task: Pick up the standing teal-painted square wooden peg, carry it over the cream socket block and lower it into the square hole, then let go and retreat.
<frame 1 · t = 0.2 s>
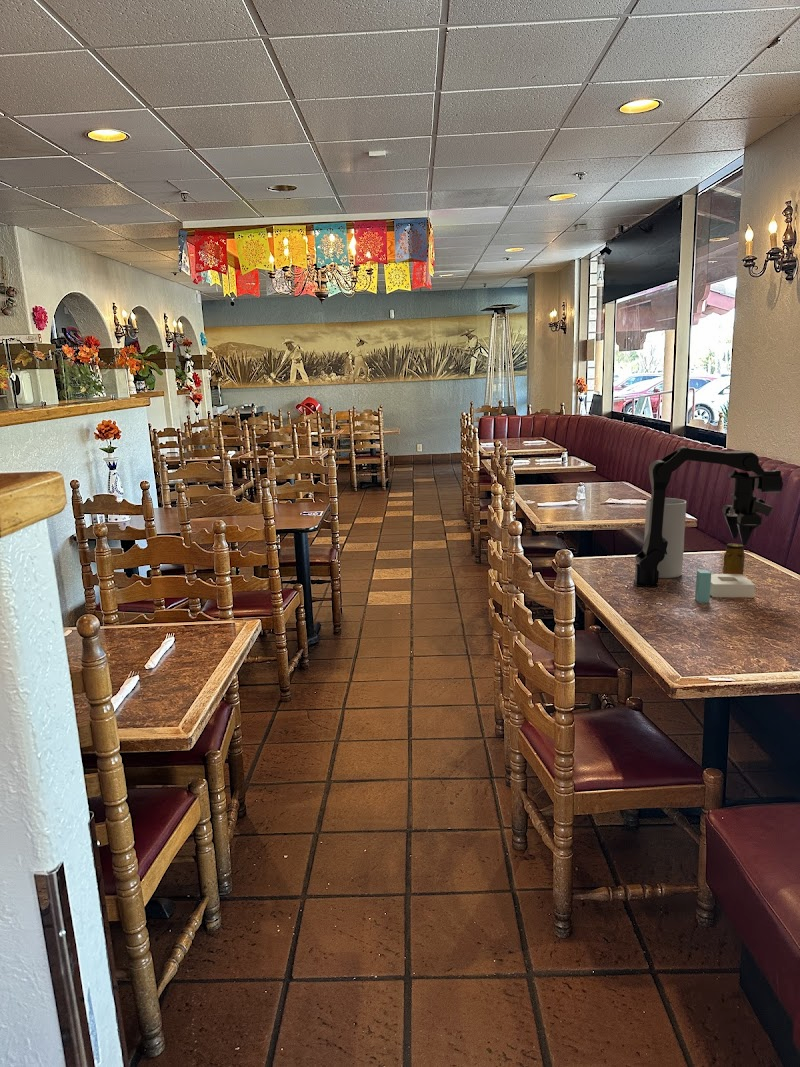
hand: (739, 541, 229), 14 cm above the table, fingers open, 9 cm apart
cylinder vase: (662, 574, 248), on the table
socket block: (726, 591, 226), on the table
peg: (702, 600, 218), on the table
condiment: (734, 581, 237), on the table
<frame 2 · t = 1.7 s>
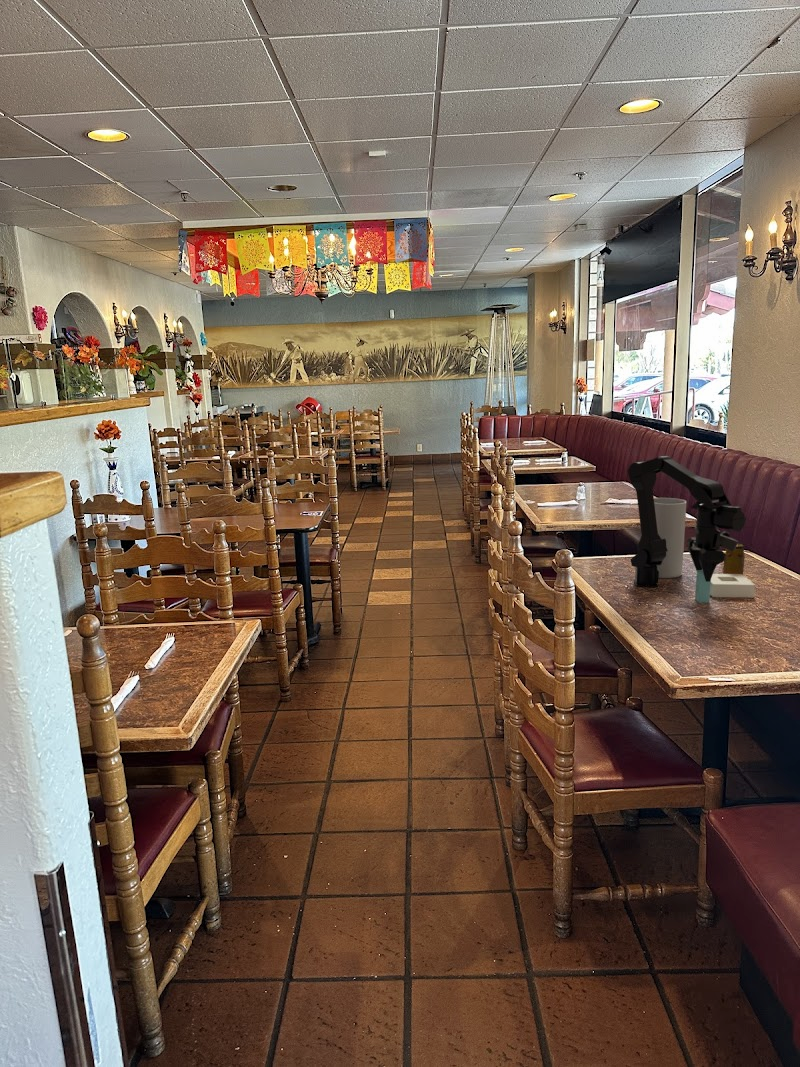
hand: (703, 577, 216), 7 cm above the table, fingers open, 9 cm apart
nothing on the table moved.
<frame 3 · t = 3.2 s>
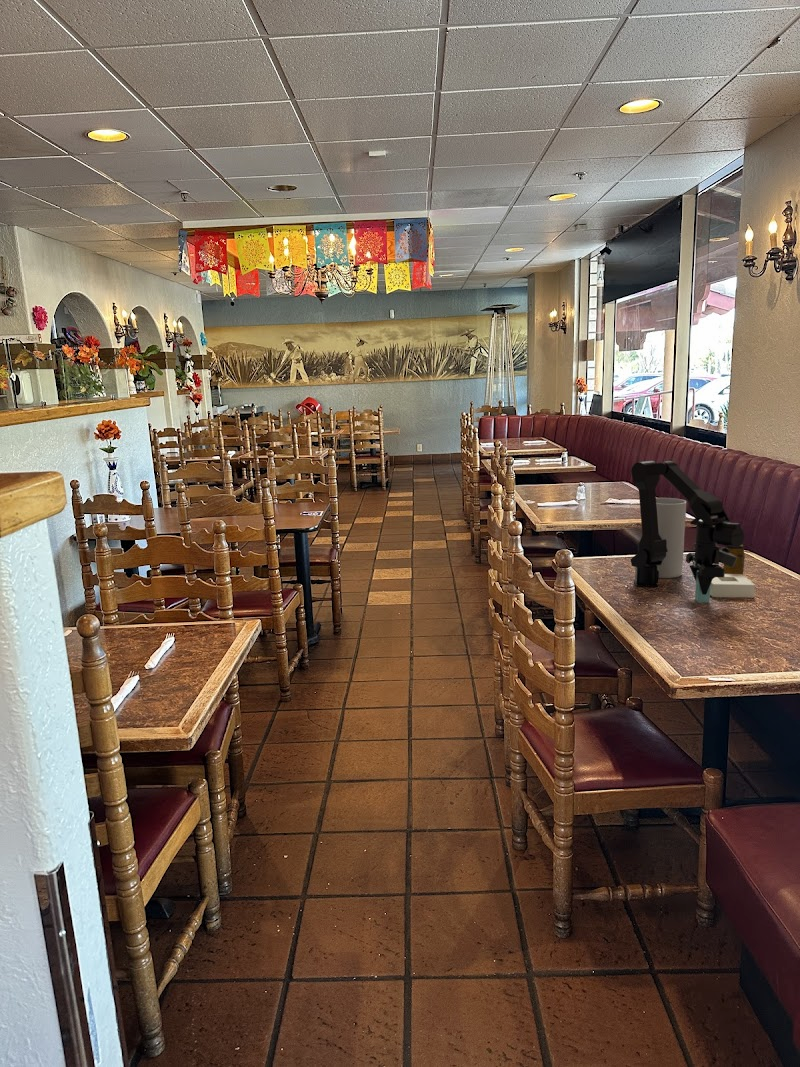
hand: (702, 592, 217), 3 cm above the table, fingers closed on peg, 3 cm apart
peg: (702, 600, 218), on the table, touching gripper
everything else where it was.
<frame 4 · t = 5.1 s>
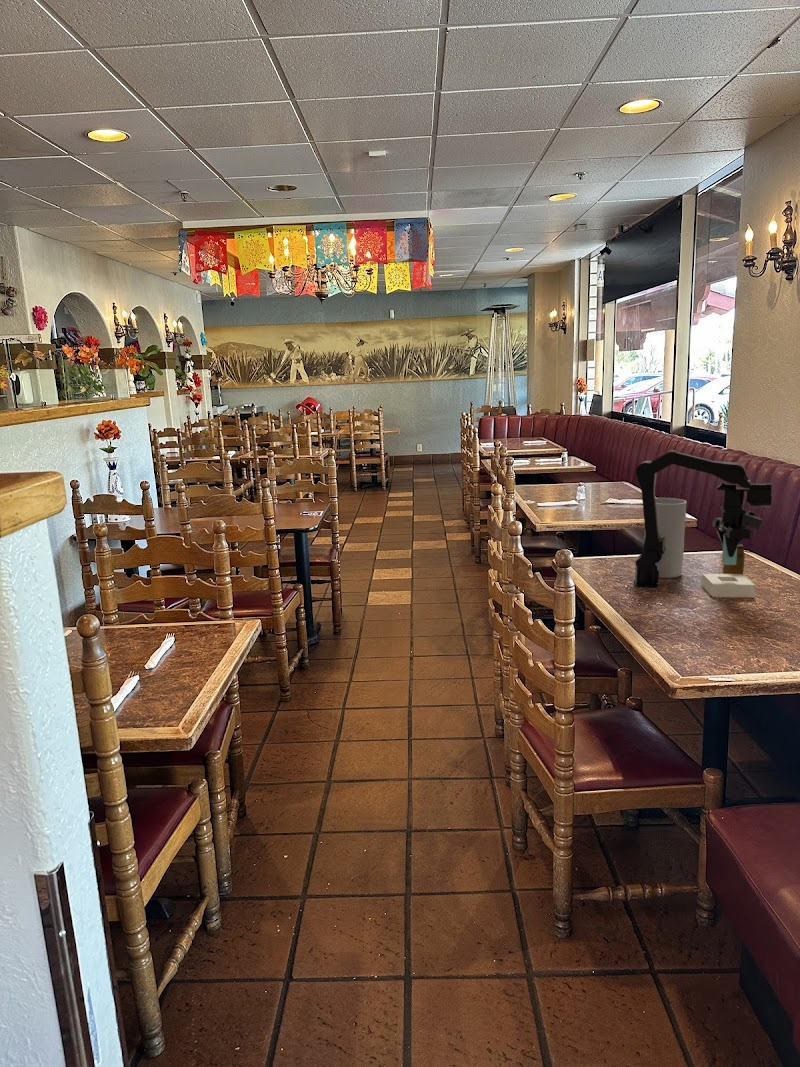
hand: (729, 555, 224), 12 cm above the table, fingers closed on peg, 3 cm apart
peg: (728, 563, 224), point 9 cm above the table, touching gripper
everything else where it was.
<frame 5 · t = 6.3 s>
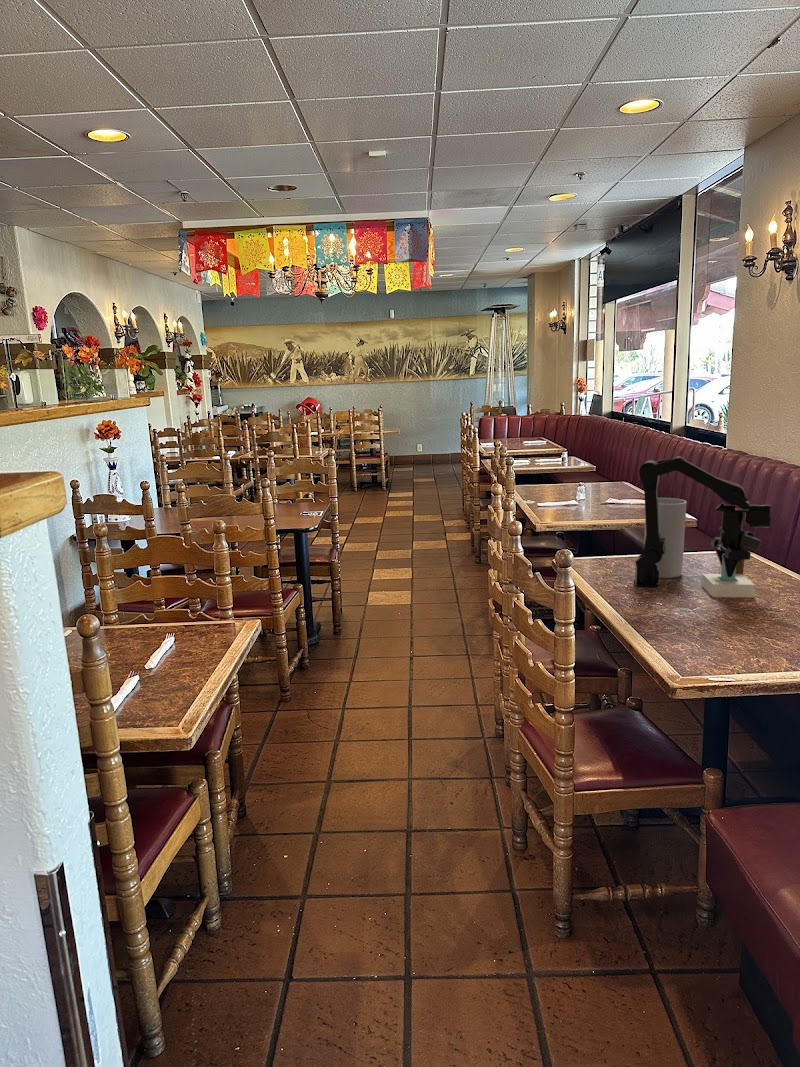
hand: (727, 575, 225), 5 cm above the table, fingers closed on peg, 3 cm apart
peg: (727, 583, 226), point 3 cm above the table, touching gripper
everything else where it was.
when the fingers open (5 cm above the table, at t = 7.0 s): peg drops 2 cm, resting on socket block.
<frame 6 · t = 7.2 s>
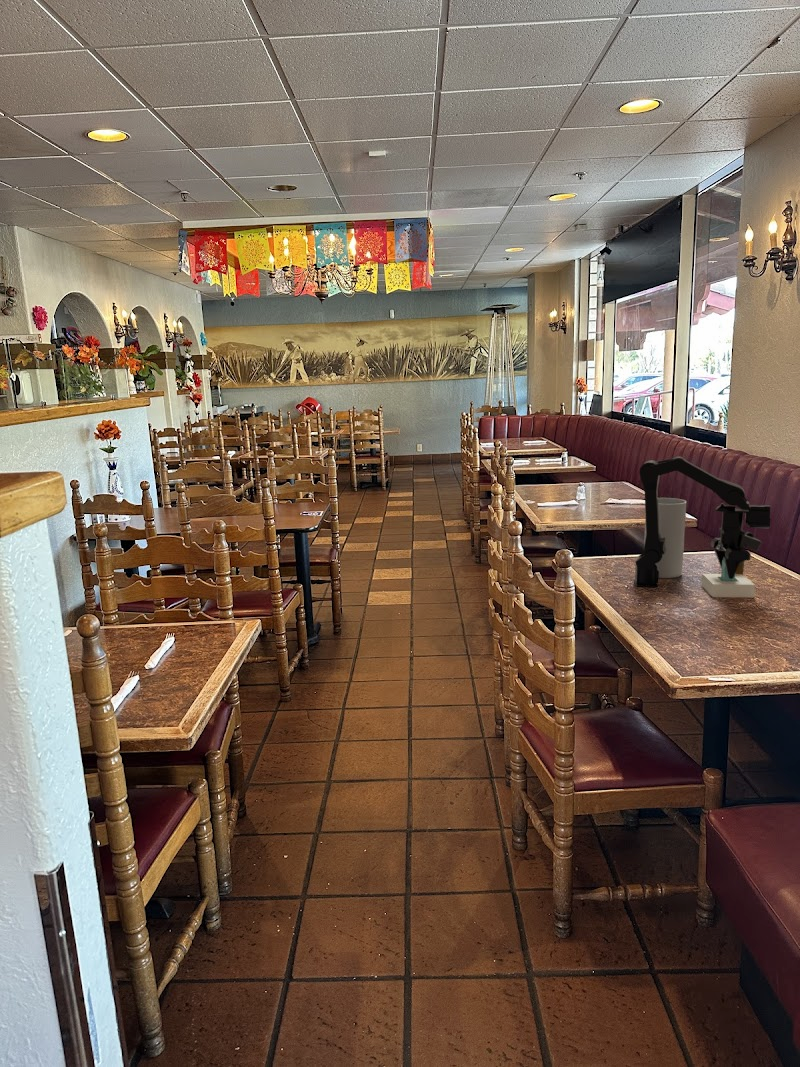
hand: (728, 575, 225), 5 cm above the table, fingers open, 6 cm apart
peg: (727, 589, 226), point 1 cm above the table, touching socket block
everything else where it was.
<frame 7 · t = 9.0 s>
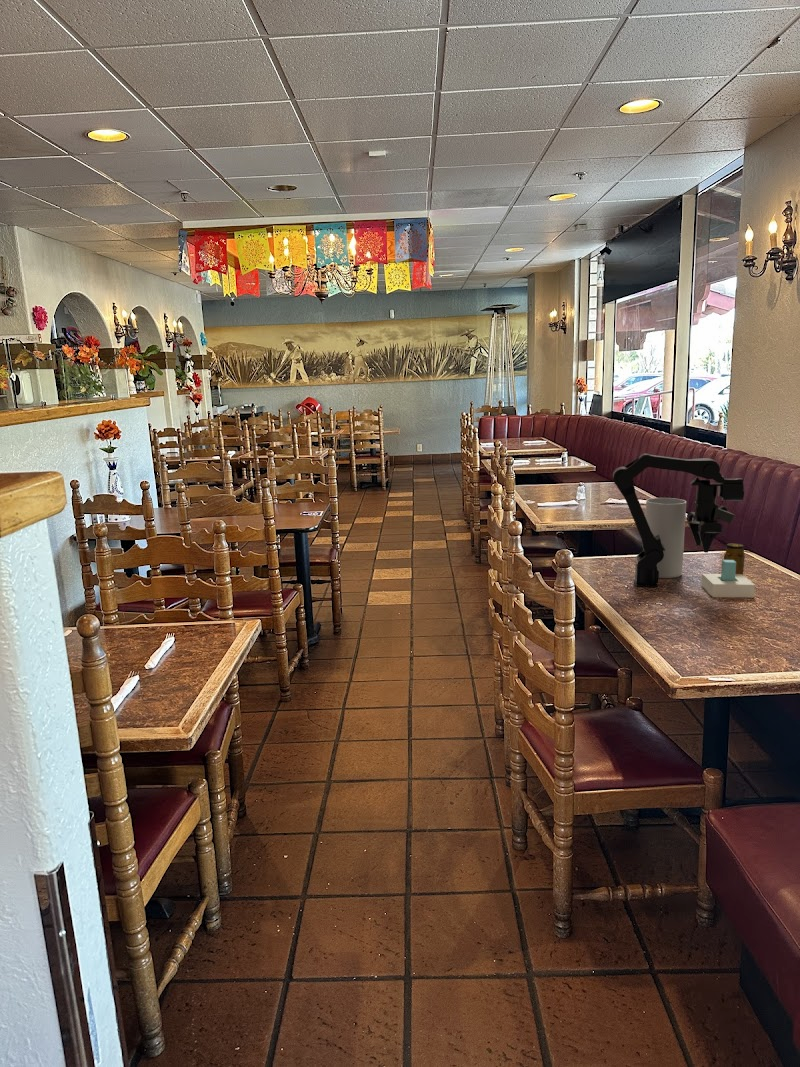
hand: (701, 548, 229), 12 cm above the table, fingers open, 9 cm apart
nothing on the table moved.
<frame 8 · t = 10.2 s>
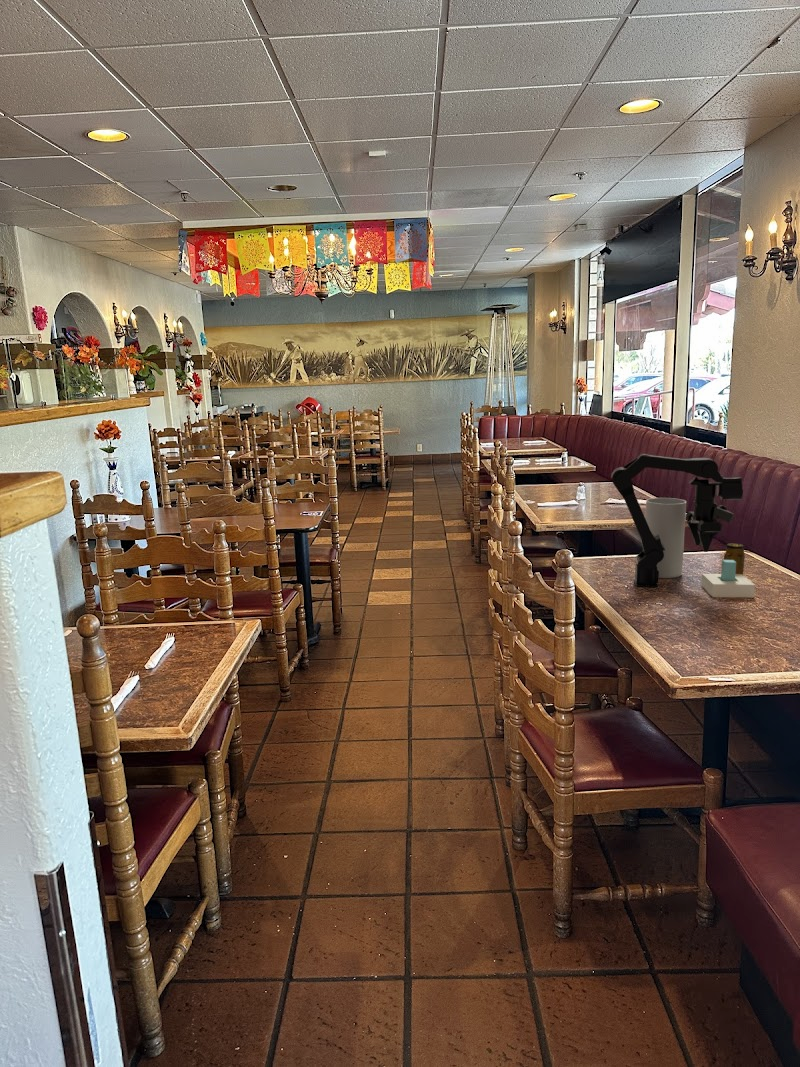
hand: (701, 548, 229), 13 cm above the table, fingers open, 9 cm apart
nothing on the table moved.
at the end: peg 0.0 cm off-centre on the socket block, point 0.7 cm above the socket block's base; peg tilted 0°; the gripper is holding nothing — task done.
